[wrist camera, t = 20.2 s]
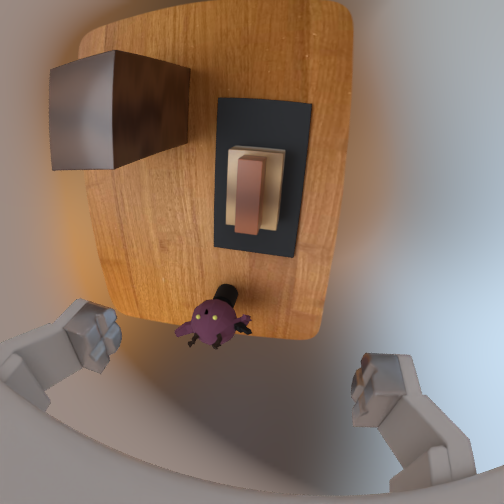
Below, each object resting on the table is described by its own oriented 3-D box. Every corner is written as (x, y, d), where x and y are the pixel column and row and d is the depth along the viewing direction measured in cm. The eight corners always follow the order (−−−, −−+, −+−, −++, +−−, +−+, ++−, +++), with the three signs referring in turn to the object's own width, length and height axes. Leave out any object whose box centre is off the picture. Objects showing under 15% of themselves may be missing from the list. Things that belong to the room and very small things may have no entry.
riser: (136, 74, 31) (49, 69, 17) (190, 68, 30) (115, 49, 16) (135, 143, 36) (52, 170, 22) (187, 143, 35) (114, 169, 21)
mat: (219, 97, 31) (218, 97, 31) (311, 104, 30) (311, 104, 29) (214, 245, 41) (213, 246, 40) (293, 255, 39) (293, 258, 39)
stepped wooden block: (235, 145, 33) (220, 152, 28) (285, 149, 32) (281, 157, 27) (232, 214, 37) (218, 234, 32) (278, 220, 37) (273, 241, 31)
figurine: (263, 290, 43) (249, 348, 32) (236, 321, 47) (217, 377, 36) (217, 261, 42) (188, 313, 31) (194, 295, 46) (165, 347, 35)
